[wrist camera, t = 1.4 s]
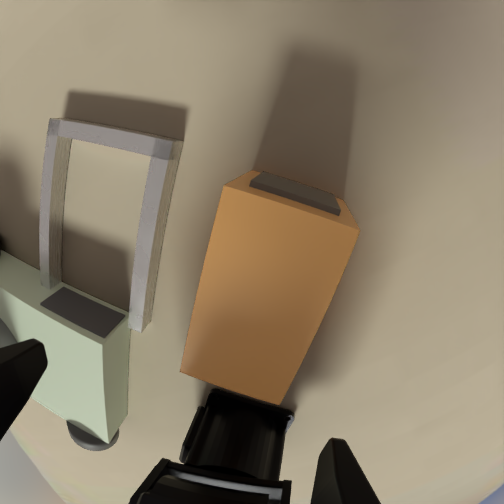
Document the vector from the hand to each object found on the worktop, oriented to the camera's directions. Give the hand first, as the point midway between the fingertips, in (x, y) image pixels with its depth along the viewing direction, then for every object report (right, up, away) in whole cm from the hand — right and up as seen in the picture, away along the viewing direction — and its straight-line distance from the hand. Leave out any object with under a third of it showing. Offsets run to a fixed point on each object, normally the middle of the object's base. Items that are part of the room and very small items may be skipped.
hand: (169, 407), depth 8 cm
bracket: (-7, +6, +11) cm, 15 cm away
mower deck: (-16, -3, +16) cm, 23 cm away
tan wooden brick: (+3, +4, +10) cm, 11 cm away
